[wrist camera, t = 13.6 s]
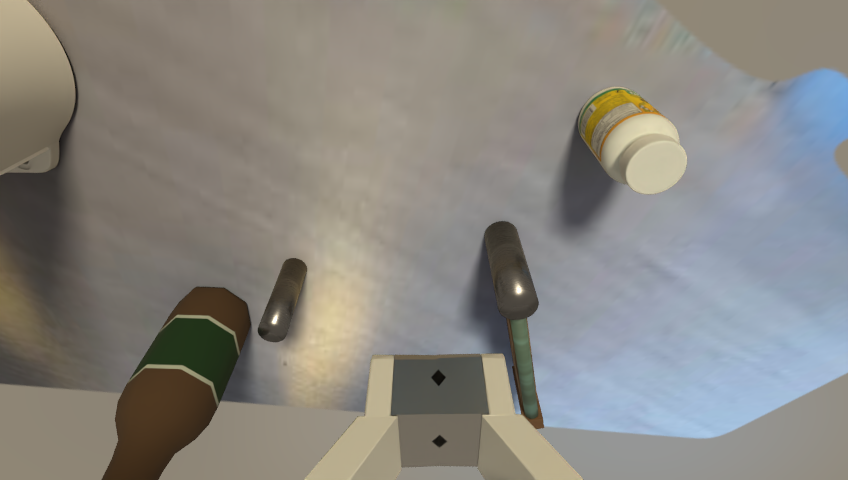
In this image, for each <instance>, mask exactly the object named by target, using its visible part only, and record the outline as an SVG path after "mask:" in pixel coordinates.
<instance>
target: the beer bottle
mask: <svg viewBox="0 0 848 480" xmlns="http://www.w3.org/2000/svg"><path fill="white" fill-rule="evenodd" d="M250 325H251V324H250V319H249V314H248V309H247V305H246V302H245V301H243V300H242V299H240V298H239V297H237V296H236V295H234V294H233V293H231V292H230V291H228V290H227V289H225V288H217V287H196V288H194V289H193V290H192V291H191V292H190V293H189V294H188V295H187V296H185V297H184V298H183V299H182V300H181V301H180V302H179V303H178V305H177V306H176V307H175V309H174V310H173V311H172V313H171V314H170V316H169V317H168V319H167V321H166V322H165V324H164V325H163V327H162V329H161V330H160V332H159V333H158V335H157V337H156V338H155V340H154V341H153V343H152V345H151V346H150V348H149V349H148V351H147V353H146V354H145V356H144V357H143V359H142V361H141V362H140V364H139V365H138V367H137V369H136V370H135V372H134V373H133V375H132V377H131V378H130V380H129V381H128V383H127V385H126V387H125V389H124V391H123V393H122V395H121V397H120V399H119V401H118V404H117V411H116V417H115V422H116V428H117V435H118V443H117V446H116V449H115V451H114V455H113V457H112V460H111V462H110V464H109V466H108V468H107V470H106V472H105V474H104V476H103V478H102V480H158V479H159V477H160V476H161V474H162V472H163V470H164V469H165V467H166V466H167V464H168V463H169V461H170V460H171V458H172V457H173V456H174V454H175V453H177V452H178V451H180V450H181V449H182V448H184V447H185V446H186V445H188V444H189V443H191V442H192V441H193V440H195V439H196V438H197V437H198V436H199V435H200V434H201V432H202V431H203V430H204V429H205V428H206V427H207V426H208V425H209V423H210V421H211V419H212V417H213V415H214V413H215V411H216V410H217V408H218V405H219V403H220V400H221V398H222V396H223V393H224V391H225V388H226V386H227V383H228V381H229V379H230V376H231V374H232V371H233V369H234V366H235V364H236V362H237V359H238V357H239V354H240V352H241V349H242V347H243V345H244V342H245V340H246V337H247V334H248V331H249V328H250Z"/></svg>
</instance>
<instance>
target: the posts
mask: <svg viewBox="0 0 848 480" xmlns="http://www.w3.org/2000/svg"><path fill="white" fill-rule="evenodd" d="M484 238H485V243H486V249H487V254H488V259H489V264H490V269H491V274H492V279H493V285H494V290H495V295H496V300H497V305H498V310H499V312H500V314H501V315H502V316H504V317H505V318H507V319H511V320H521V319H525V318H527V317H529V316H531V315H532V314H534V312H535V311H536V310H537V308H538V303H539V302H538V298H537V295H536V291H535V288H534V285H533V282H532V278H531V275H530V272H529V268H528V265H527V262H526V258H525V255H524V252H523V248H522V245H521V242H520V238H519V235H518V232H517V229H516V227H515V226H514V225H513V224H511V223H509V222H505V221H500V222H496V223H493V224H492V225H490V226H489V227H488V228H487V230H486V231H485V235H484ZM306 272H307V266H306V264H305V263H304V262H303V261H301V260H299V259H296V258H291V259H288V260H286V261H285V262H284V264H283V266H282V269H281V271H280V274H279V276H278V279H277V281H276V284H275V286H274V289H273V291H272V294H271V297H270V299H269V302H268V304H267V307H266V309H265V312H264V314H263V317H262V319H261V322H260V324H259V327H258V333H259V335H260V336H261V337H262V338H263V339H264V340H267V341H270V342H279V341H282V340H283V339H284V338H285V337H286V334H287V331H288V328H289V325H290V322H291V319H292V315H293V312H294V309H295V306H296V303H297V300H298V297H299V294H300V290H301V287H302V284H303V281H304V278H305V275H306Z"/></svg>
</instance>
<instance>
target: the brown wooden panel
mask: <svg viewBox="0 0 848 480" xmlns="http://www.w3.org/2000/svg"><path fill="white" fill-rule="evenodd" d="M506 320H507V326H508V332H509V339H510V345H511V351H512V357H513V363H514V366H512V368H513V374H514V380H515V385H516V390H517V395H518V400H519V405H520V410H521V415H523V416H524V417H525V418H526V419H527V420H528V421H529V422H530V423H531V424H532V425H533V427H534V428H535V429H540V428H544V424H543V417H542V413H541V409H540V405H539V400H538V396H537V392H536V385H535V377H534V370H533V362H532V354H531V346H530V338H529V331H528V323H527V318H525V319H521V320H511V319H507V318H506Z"/></svg>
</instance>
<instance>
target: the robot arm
mask: <svg viewBox="0 0 848 480" xmlns="http://www.w3.org/2000/svg"><path fill="white" fill-rule="evenodd" d="M74 105H75V83H74V78H73V74H72V70H71V67H70V64H69V61H68V59H67V56H66V54H65V52H64V50H63V48H62V46H61V44H60V42H59V40H58V39H57V37H56V35H55V34H54V32H53V31H52V29H51V28H50V26H49V25H48V24H47V22H46V21H45V20H44V19H43V17H42V16H41V15H40V14H39V13H38V11H37V10H36V9H35V8H34V7H33V6H32V5H31V4H30V3H29V2H28V1H27V0H0V175H2V174H4V173H43V172H47V171H49V170H51V169H53V168H55V167H56V166H57V164H58V161H59V139H60V136H61V134H62V132H63V131H64V129H65V127H66V126H67V124H68V123H69V121H70V119H71V116H72V114H73V110H74ZM439 464H440V466H478V470H479V471H480V473H481V474H482V475H483V477H484V478H485V480H583V478H582V477H581V476H580V475H579V474H578V473H577V472H576V471H575V470H574V469H573V468H572V467H571V466H570V465H569V464H568V463H567V461H566V460H565V459H564V458H563V457H562V456H561V455H560V454H559V453H558V452H557V451H556V450H555V449H554V448H553V447H552V446H551V445H550V443H548V441H546V439H545V438H544V437H543V436H542V435H541V434H540V433H539V432H538V431H537V430H536V429H535V428H534V427H533V425H532V424H531V423H530V422H529V421H528V420H527V419H526V418H525V417H524V416H523V415H519V414H515V409H514V404H513V399H512V393H511V388H510V383H509V378H508V372H507V367H506V362H505V357H504V355H503V354H481V355H480V354H447V355H373V356H372V359H371V363H370V372H369V380H368V389H367V397H366V406H365V415H364V416H358V417H357V418H356V419H355V420H354V421H353V423H352V424H351V425H350V426H349V427H348V429H347V430H346V431H345V432H344V433H343V434H342V436H341V437H340V438H339V439H338V440H337V442H336V443H335V444H334V445H333V446H332V447H331V449H330V450H329V451H328V452H327V453H326V455H325V456H324V457H323V458H322V459H321V460H320V461H319V463H318V464H317V465H316V466H315V467H314V469H313V470H312V471H311V472H310V473H309V474H308V476H307V477H306V478H305V479H304V480H396V478H397V476H398V475H399V473H400V472H401V467H423V466H439Z"/></svg>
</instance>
